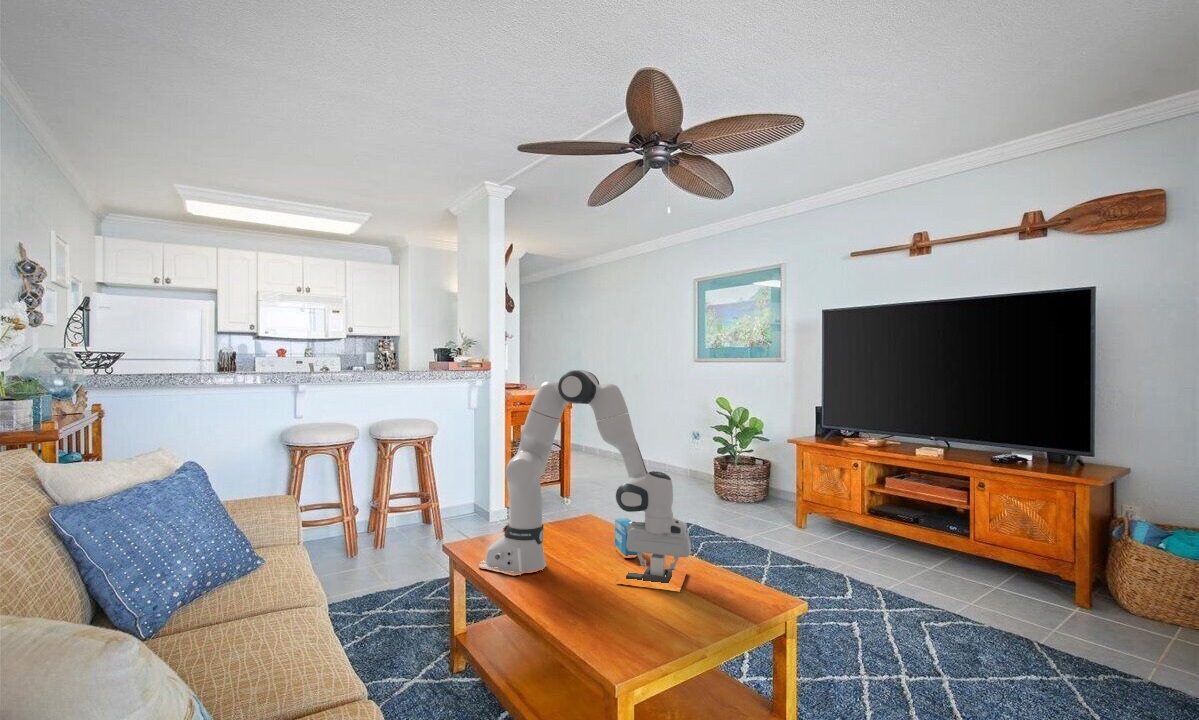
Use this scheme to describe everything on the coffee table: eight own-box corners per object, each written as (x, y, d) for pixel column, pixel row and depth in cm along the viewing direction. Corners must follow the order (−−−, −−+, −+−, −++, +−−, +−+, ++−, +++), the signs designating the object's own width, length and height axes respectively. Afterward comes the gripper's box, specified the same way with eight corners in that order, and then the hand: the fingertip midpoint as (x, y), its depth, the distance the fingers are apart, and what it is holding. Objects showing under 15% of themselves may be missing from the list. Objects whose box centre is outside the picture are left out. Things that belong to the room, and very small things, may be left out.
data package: (614, 549, 214) (614, 517, 214) (625, 548, 215) (626, 516, 216) (625, 560, 203) (626, 526, 203) (637, 559, 204) (638, 525, 204)
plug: (650, 579, 181) (650, 556, 181) (652, 574, 186) (653, 551, 186) (662, 581, 180) (663, 557, 180) (665, 576, 184) (665, 553, 185)
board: (616, 584, 180) (616, 574, 180) (628, 567, 195) (628, 558, 196) (680, 592, 175) (680, 581, 175) (687, 574, 190) (687, 564, 190)
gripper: (624, 523, 183) (623, 567, 182) (689, 529, 177) (688, 574, 177) (628, 518, 189) (628, 560, 189) (691, 524, 183) (691, 568, 183)
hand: (657, 567), depth 183 cm, fingers open, 8 cm apart
